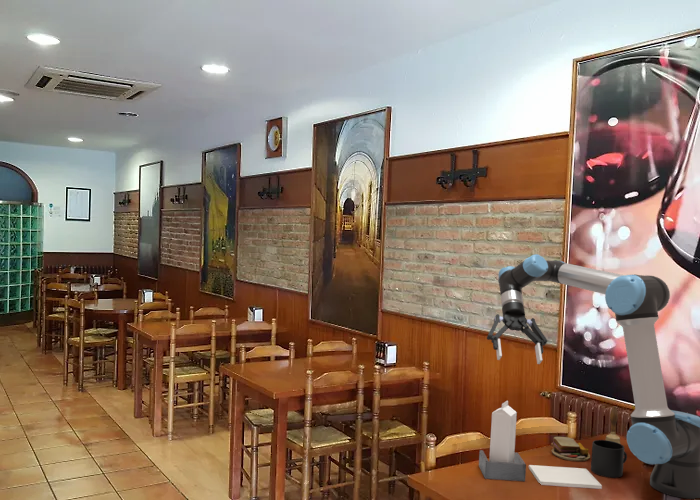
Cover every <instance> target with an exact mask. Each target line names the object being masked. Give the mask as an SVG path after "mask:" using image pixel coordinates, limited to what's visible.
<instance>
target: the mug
mask: <svg viewBox="0 0 700 500" xmlns="http://www.w3.org/2000/svg"><path fill="white" fill-rule="evenodd" d="M590 458H591V459H590V460H591V461H590V470H591V472H592V473H594V474H596V475H599V476H601V477H605V478H612V479H616V478H622V477H623V475H624V474H623V473H624V464H625V463H626V462H627V459H628V454H627V452H626V451H625V446H624V445H623V444H621V443H620V444H619V443H617V442H613V441H608V440H606V439H596V440H593V441H592V443H591V456H590Z"/></svg>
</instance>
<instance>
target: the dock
mask: <svg viewBox="0 0 700 500" xmlns="http://www.w3.org/2000/svg"><path fill="white" fill-rule="evenodd" d="M478 467H479V469H480V471H481V473H482V476H483V478H484V479H487V480H501V481H512V482H513V481H516V482H526V475H527V472H526V471H527V463H526V462H525V461H524V459H523V458H522V457H521V455H520V454H519V452H515V451H514V463H508V462H493V461H489V459H488V458H487V455H486V454H485V451H484V450H482V449H481V450H480V449H479V455H478Z"/></svg>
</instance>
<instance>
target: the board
mask: <svg viewBox="0 0 700 500" xmlns="http://www.w3.org/2000/svg"><path fill="white" fill-rule="evenodd" d="M528 469H529V471H530V472H531V474H532V475H533V477H534V478H535V479H536V481H537V482H538V483H540V484H541V485H540V484H539V485H540V486H554V487H555V486H556V487H565V488H567V487H569V488H581V489H583V488H584V489H599V490H602V489H603V485H602V484H601V483H600V482H599V481H598V479H597V478H596V477H594V476H593V474H592V473H591V472H590V471H589V470H588V469H587V468H583V467H582V468H579V467H566V466H551V465H550V466H548V465H535V464H534V465H533V464H529V465H528Z"/></svg>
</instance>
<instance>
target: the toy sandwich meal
mask: <svg viewBox="0 0 700 500" xmlns="http://www.w3.org/2000/svg"><path fill="white" fill-rule="evenodd" d="M550 446H551V448H552V449H551V452H552V454H553V455H554V456H556V457H557V458H559V459H562V460H565V461H571V462H585V461H587V460H589V459H590V458H591V455H590V453H589V448H585V447H584V446H583V444H582V443H581V442H578V443H577V442H576V440H575V438H571V437H567V436H554V437H553V442H551V443H550Z"/></svg>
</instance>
